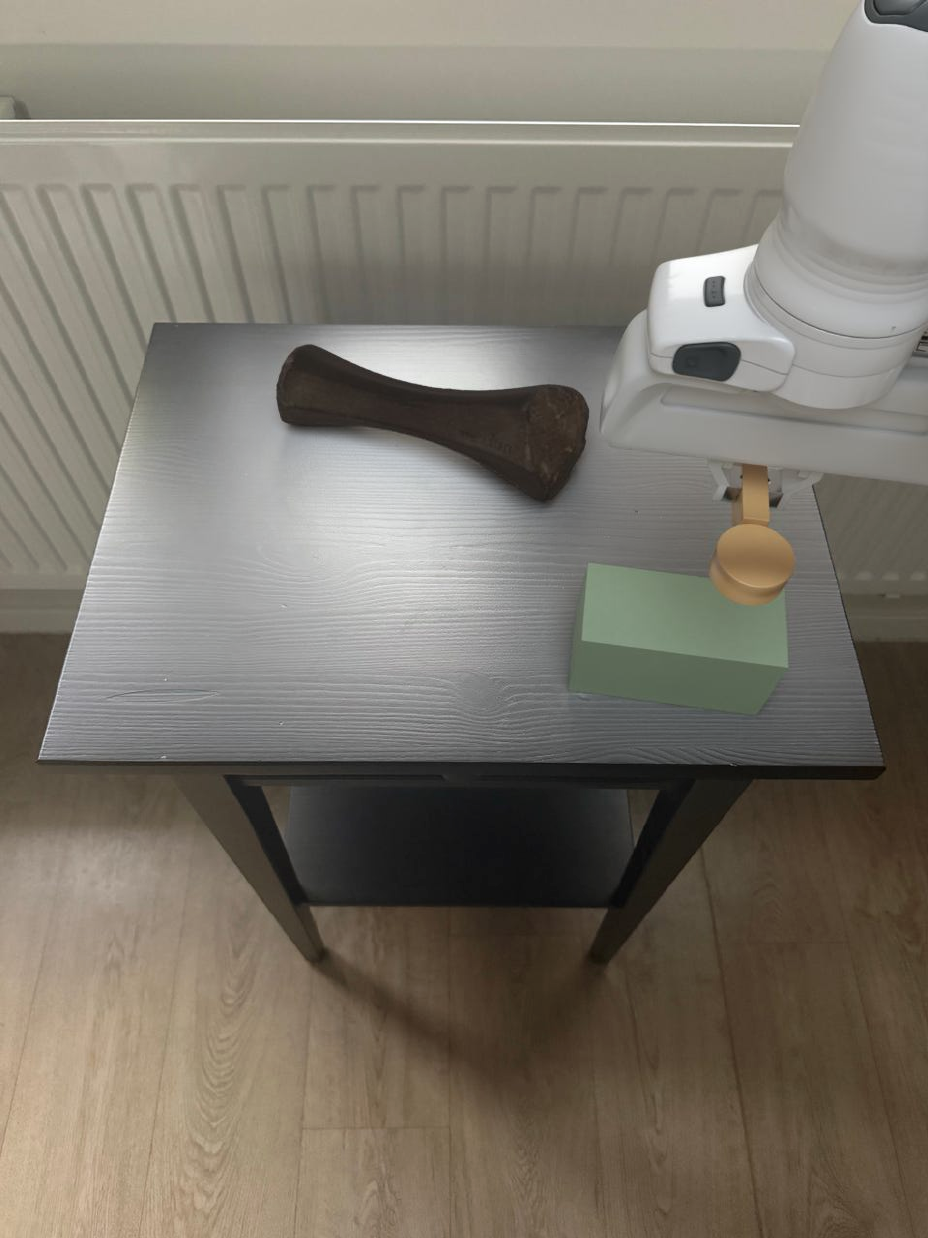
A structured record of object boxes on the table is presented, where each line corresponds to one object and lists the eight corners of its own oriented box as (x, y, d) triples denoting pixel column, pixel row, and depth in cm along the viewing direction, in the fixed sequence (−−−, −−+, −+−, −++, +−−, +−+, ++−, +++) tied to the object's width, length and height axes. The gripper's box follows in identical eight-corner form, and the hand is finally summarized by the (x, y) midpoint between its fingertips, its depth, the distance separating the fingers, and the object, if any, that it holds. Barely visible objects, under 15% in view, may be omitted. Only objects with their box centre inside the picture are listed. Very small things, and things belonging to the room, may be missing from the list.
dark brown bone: (585, 482, 89) (313, 437, 95) (599, 370, 84) (311, 331, 90) (561, 524, 80) (262, 471, 86) (576, 402, 75) (257, 356, 81)
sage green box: (754, 640, 78) (784, 587, 71) (756, 716, 74) (788, 667, 68) (574, 616, 79) (587, 562, 72) (567, 690, 75) (581, 640, 68)
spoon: (707, 430, 63) (716, 404, 61) (776, 439, 62) (788, 413, 60) (708, 600, 56) (718, 578, 54) (786, 610, 55) (800, 588, 53)
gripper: (1024, 304, 48) (908, 478, 60) (627, 259, 49) (589, 440, 61) (1047, 392, 45) (920, 558, 57) (622, 342, 46) (583, 516, 58)
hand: (746, 497), depth 59 cm, fingers closed on spoon, 2 cm apart
